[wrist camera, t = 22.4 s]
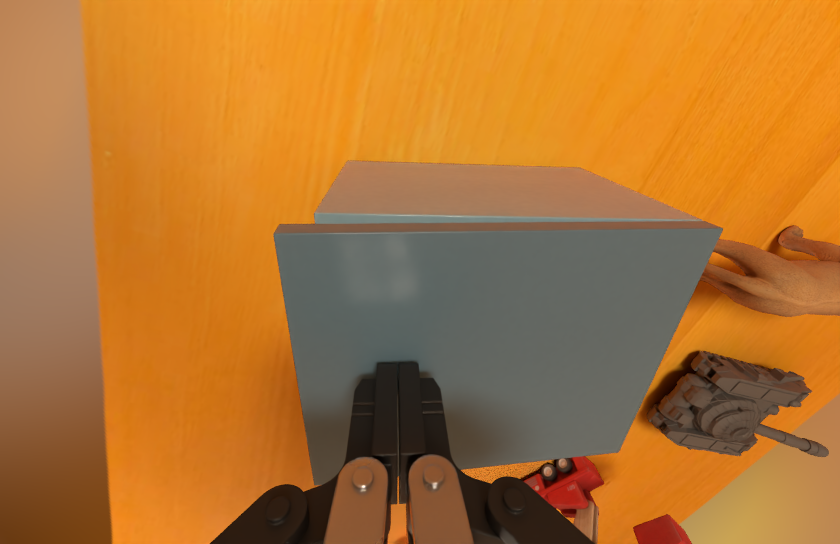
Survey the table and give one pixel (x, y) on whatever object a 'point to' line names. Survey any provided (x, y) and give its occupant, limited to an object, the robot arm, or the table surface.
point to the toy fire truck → (572, 497)
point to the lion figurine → (780, 276)
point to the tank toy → (730, 406)
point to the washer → (481, 195)
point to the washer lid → (489, 326)
